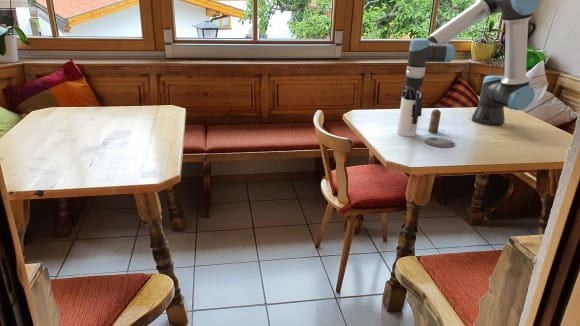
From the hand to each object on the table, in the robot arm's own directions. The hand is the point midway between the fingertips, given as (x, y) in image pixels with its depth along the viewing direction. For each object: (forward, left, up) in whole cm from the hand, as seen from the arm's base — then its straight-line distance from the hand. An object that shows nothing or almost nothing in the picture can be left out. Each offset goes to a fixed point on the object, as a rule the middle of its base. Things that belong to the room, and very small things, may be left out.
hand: (407, 127), depth 190 cm
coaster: (-8, +14, -3) cm, 16 cm away
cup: (0, 0, -3) cm, 3 cm away
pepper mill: (-14, -1, -3) cm, 14 cm away
